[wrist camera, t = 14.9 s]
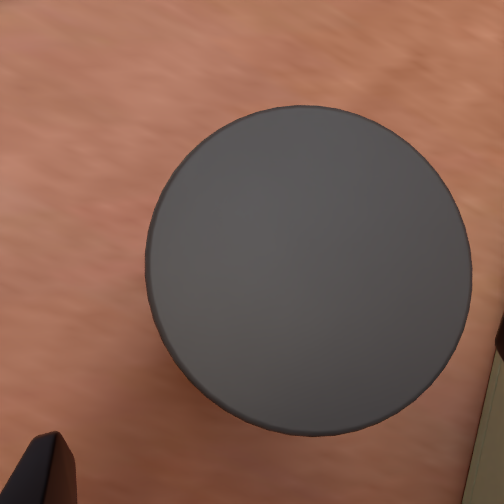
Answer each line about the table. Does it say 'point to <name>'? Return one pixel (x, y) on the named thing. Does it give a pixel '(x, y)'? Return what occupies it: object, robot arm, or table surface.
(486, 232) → the table surface
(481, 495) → the box
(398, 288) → the red-banded dark cylinder
